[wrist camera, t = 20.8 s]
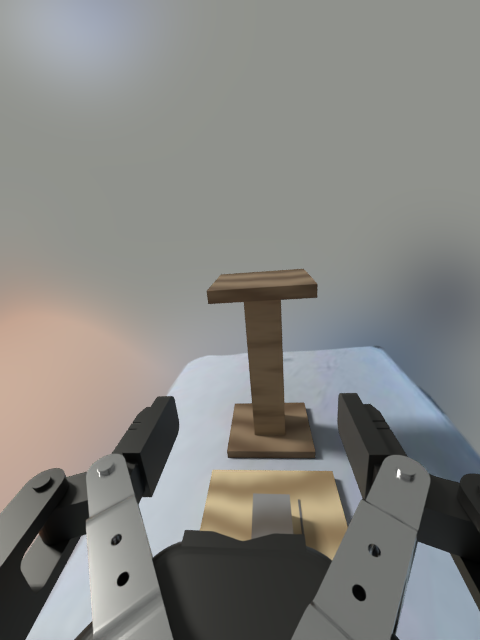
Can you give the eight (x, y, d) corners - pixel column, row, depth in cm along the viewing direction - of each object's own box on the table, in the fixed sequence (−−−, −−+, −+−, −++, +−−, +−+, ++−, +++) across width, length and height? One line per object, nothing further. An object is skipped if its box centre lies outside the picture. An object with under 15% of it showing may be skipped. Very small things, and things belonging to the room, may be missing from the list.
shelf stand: (235, 409, 63) (221, 274, 52) (304, 408, 61) (303, 268, 51) (227, 457, 50) (206, 291, 39) (315, 458, 48) (317, 283, 37)
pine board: (213, 476, 46) (212, 469, 46) (331, 477, 44) (332, 470, 43) (119, 943, 16) (113, 939, 16) (477, 1021, 14) (484, 1019, 13)
